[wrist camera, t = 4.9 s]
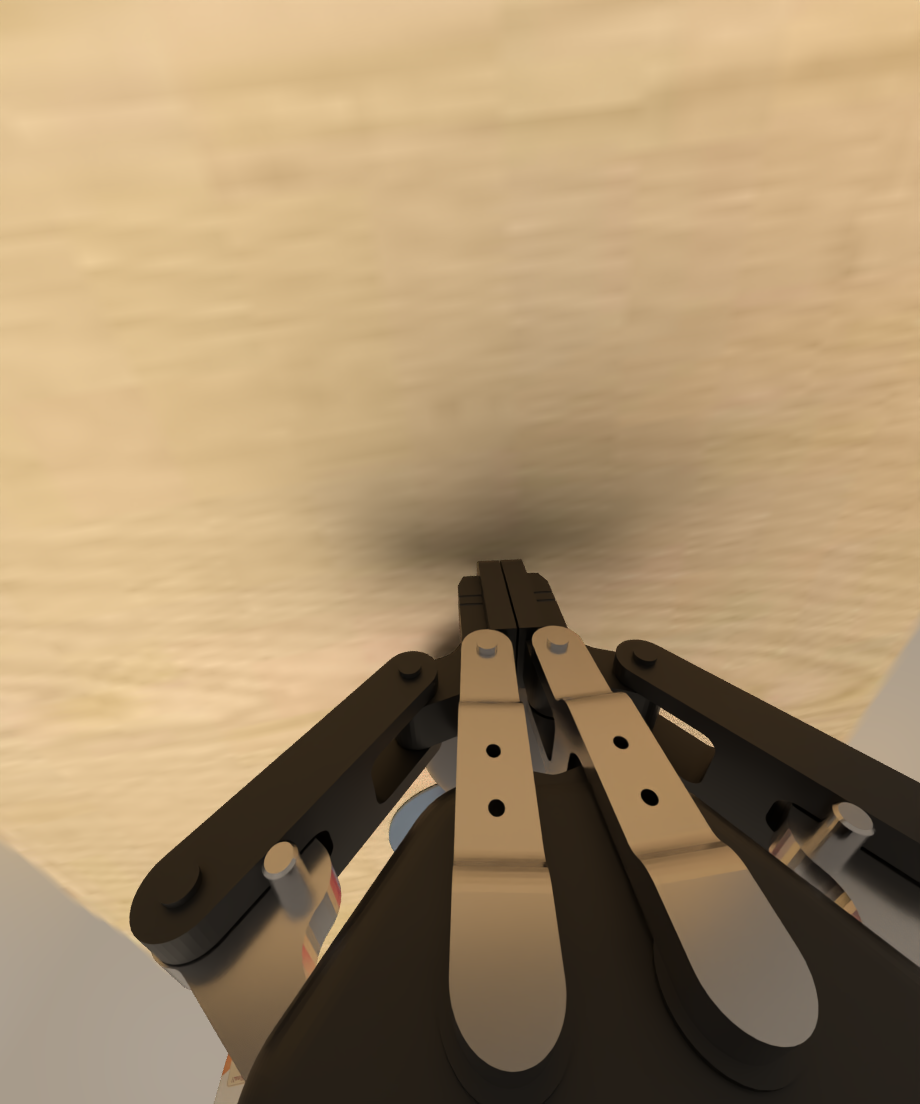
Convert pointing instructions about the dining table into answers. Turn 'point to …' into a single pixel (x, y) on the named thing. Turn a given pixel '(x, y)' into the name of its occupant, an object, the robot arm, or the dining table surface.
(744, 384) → the dining table surface
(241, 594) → the dining table surface
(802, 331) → the dining table surface
